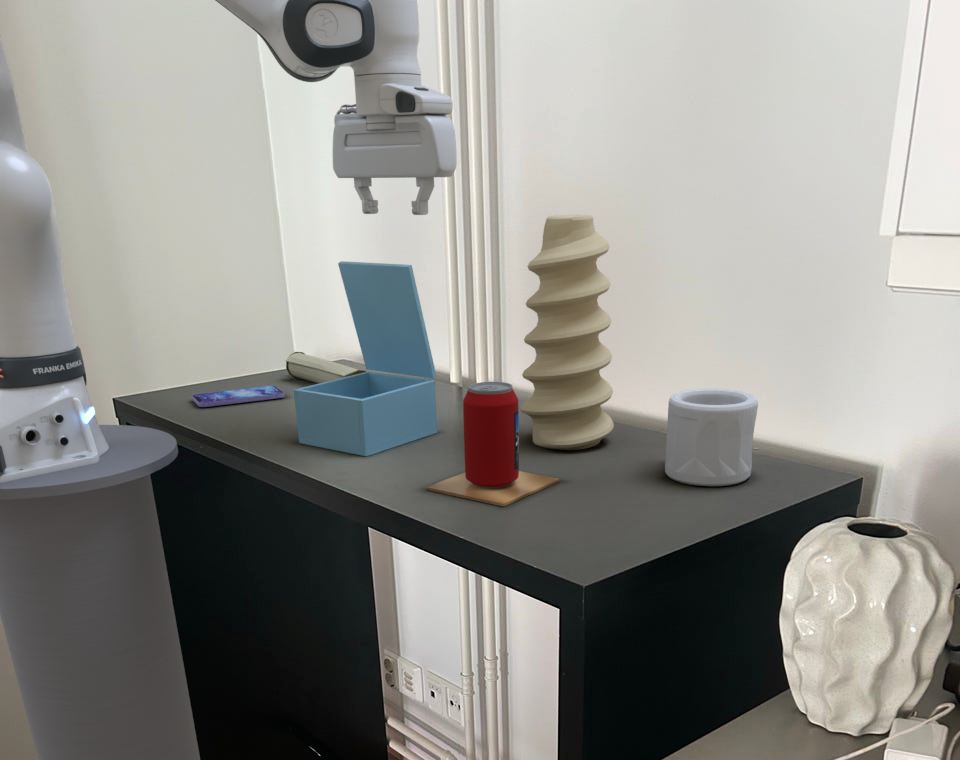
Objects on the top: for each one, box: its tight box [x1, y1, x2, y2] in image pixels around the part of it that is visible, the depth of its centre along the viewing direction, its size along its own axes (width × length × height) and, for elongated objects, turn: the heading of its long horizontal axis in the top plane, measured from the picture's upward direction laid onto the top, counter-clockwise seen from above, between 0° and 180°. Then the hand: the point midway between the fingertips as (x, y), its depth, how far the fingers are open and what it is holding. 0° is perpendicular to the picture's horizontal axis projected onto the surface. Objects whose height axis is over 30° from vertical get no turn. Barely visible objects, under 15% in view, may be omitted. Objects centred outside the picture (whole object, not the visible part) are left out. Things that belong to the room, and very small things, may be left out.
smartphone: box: [191, 384, 285, 408], centre depth 174 cm, size 7×1×15 cm
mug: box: [664, 388, 759, 487], centre depth 125 cm, size 14×11×10 cm
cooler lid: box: [337, 260, 437, 379], centre depth 145 cm, size 16×14×1 cm
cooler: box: [293, 371, 438, 457], centre depth 146 cm, size 16×14×8 cm
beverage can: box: [462, 381, 520, 488], centre depth 122 cm, size 7×7×12 cm
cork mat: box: [426, 470, 561, 508], centre depth 125 cm, size 12×12×1 cm
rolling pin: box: [285, 351, 367, 384], centre depth 180 cm, size 32×6×5 cm, turn 34°
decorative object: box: [520, 214, 615, 451], centre depth 137 cm, size 13×13×30 cm
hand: (394, 214), depth 138 cm, fingers open, 8 cm apart
